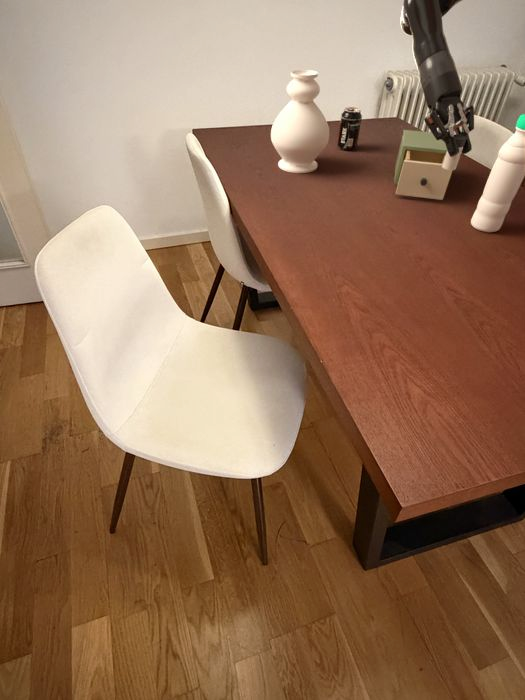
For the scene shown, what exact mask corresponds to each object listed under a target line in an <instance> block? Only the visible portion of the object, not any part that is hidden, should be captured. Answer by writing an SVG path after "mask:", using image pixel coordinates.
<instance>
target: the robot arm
mask: <svg viewBox="0 0 525 700" xmlns="http://www.w3.org/2000/svg"><path fill="white" fill-rule="evenodd" d="M462 1H463V0H403V2H402V9H401V15H400V27H401V30H402V32H403V33H404V34H405V35H407V36H412V54H413V59H414V62H415V65H416V68H417V71H418V79H419V82H420V83H419V84H420V86H421V89H422V94H423V96H424V99H425V102H426V106H427V109H428V110H431V112H430V113H429V114H427V116H425V117H424V119H423V121H424V122H425V124H426V127H428V129H429V130H430V132H432V133H433V135H434V137H435V138H436V140H440V139H441V140H442V141H443V142H445V144H446V147H447V151H448V153H449V155H450V157H453V156H455V155H456V154H458V153H459V147H458V144H457V141H456V137H453V136H454V135H455V134H459V135H464V136H466V137H467V139H466V142H465V145H464V147H463V149H462V152H461V155H466V154H468V153H469V152H471V151H472V147H473V146H472V142H471V139H470V135H469V134H470V133H471V132H472V131H473V130H475V107H474V105H473V104H470V105H469V106H466V105H465V104H464V102H463V101H462V99H461V95H462V92H463V87H462V83H461V80H460V77H459V73H458V70H457V66H456V63H455V60H454V58H453V56H452V54H451V51H450V48H449V44H448V41H447V36H446V35H445V33H444V32H445V31H444V26H443V17H444V16H445V15H447V14H448V12H450V11H451V10H452V9H453V8H454V7H455V6H456V5H458V4H459V3H461V2H462ZM460 128H461V129H460Z"/></svg>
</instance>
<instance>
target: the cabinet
mask: <svg viewBox="0 0 525 700" xmlns="http://www.w3.org/2000/svg"><path fill="white" fill-rule="evenodd" d="M406 150H416V151H426V152H436V153H447V147H446V144H445V142H443V141H442V140H441V139H440V140H436V138H435V137H434V135H433V133H432V132H431V131H421V130H420V131H419V130H412V129H411V130H409V129H403V133H402V136H401V141H400V145H399V150H398V154H397V158H396V162H395V167H394V178H393V185H395V186H398V182H399V178H400V173H401V169H402V165H403V161H404V157H405V153H406Z"/></svg>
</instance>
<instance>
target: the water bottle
mask: <svg viewBox="0 0 525 700" xmlns="http://www.w3.org/2000/svg"><path fill="white" fill-rule="evenodd" d="M524 179H525V113H523V114H520V116H518V119H517V121H516V124H515V132H514V133H513V134H512V135H511V136H510V137H509V138H508V140H507V141H506V142H505V143H504V144H502V146H501V147H500V148H499V150H498V154H497V158H496V159H495V162H494V164H493V166H492V167H491V170H490V173H489V176H488V177H487V181H486V183H485V186H484V188H483V192H482V194H481V196H480V198H479V200H478V202H477V205H476V209H475V211H474V212H473V215H472V217H471V219H470V225H471V226H472V227H473V228H474V229H475V230H477V231H480V232H483V233H495V232H497V231H499V230H500V229H501V228H502V226H503V223H504V221H505V218H506V215H507V214H508V212H509V211H510V209H511V206H512V202H513V200H514V198H515V197H516V195H517V193H518V191H519V189H520V187H521V185H522V182H523V181H524Z"/></svg>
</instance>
